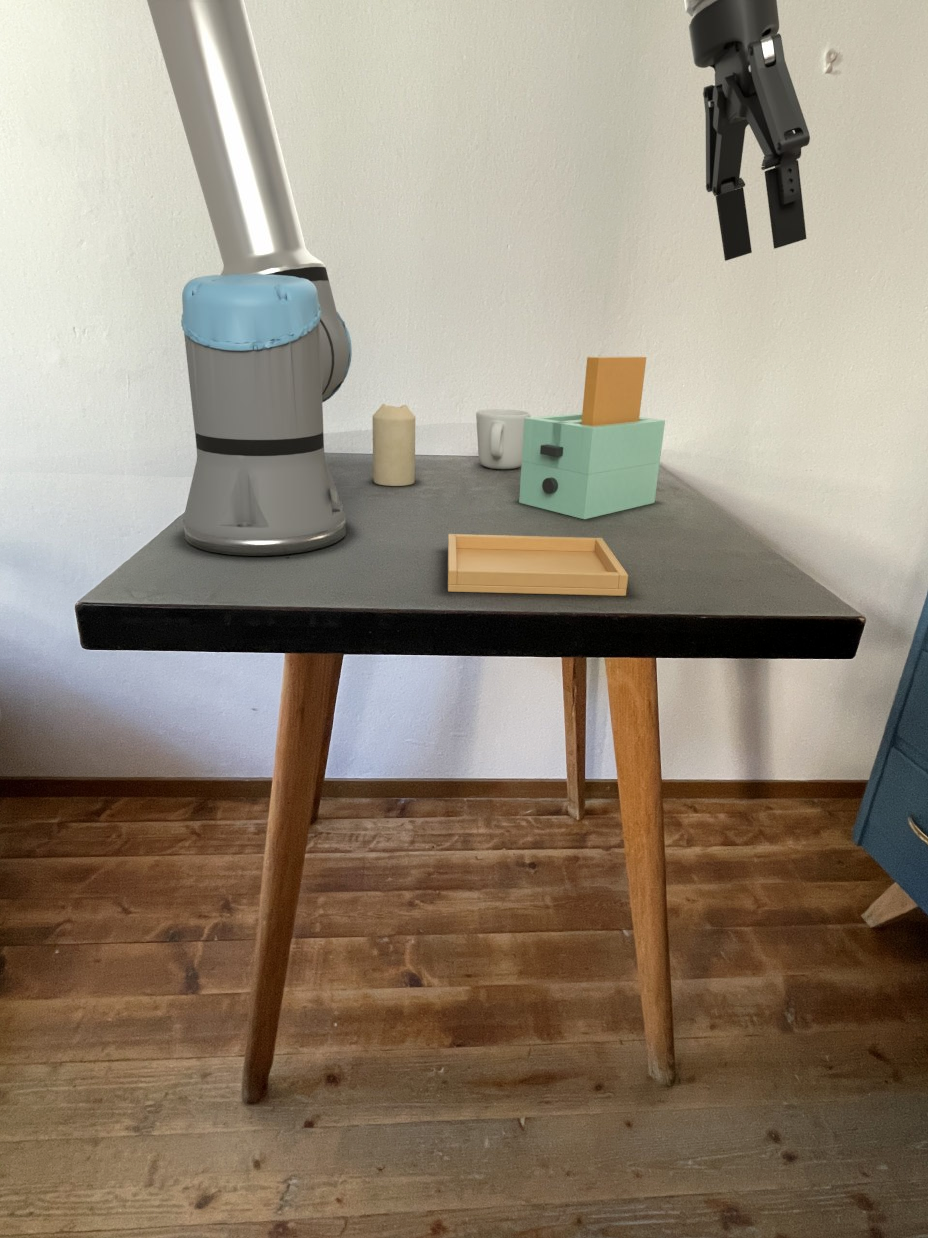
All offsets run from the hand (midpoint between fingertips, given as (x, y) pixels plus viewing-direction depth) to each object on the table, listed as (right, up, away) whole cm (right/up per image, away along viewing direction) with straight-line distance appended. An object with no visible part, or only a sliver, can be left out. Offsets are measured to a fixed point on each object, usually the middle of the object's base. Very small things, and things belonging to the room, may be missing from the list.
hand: (762, 251), depth 75 cm
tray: (-24, -33, -10) cm, 42 cm away
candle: (-40, -19, +24) cm, 50 cm away
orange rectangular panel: (-13, -19, +13) cm, 26 cm away
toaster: (-15, -23, +16) cm, 32 cm away
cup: (-25, -15, +35) cm, 46 cm away
